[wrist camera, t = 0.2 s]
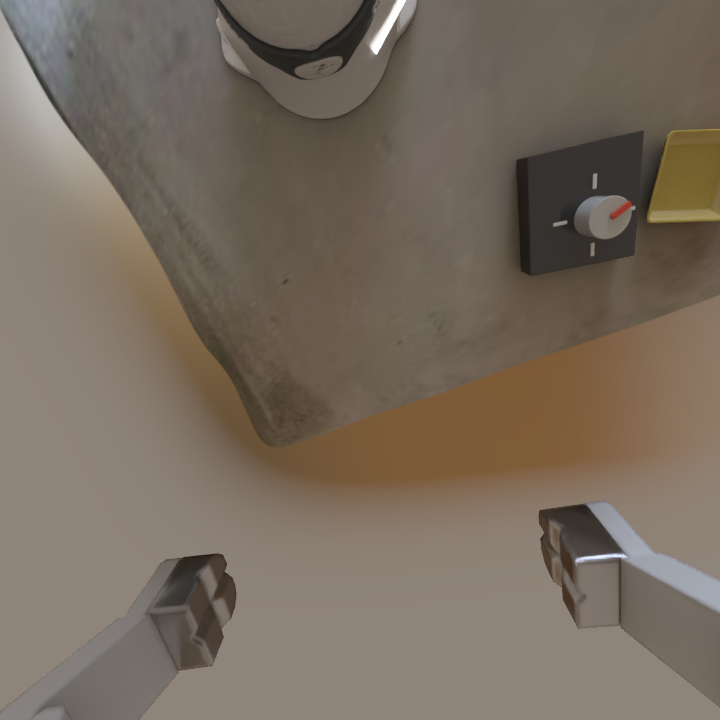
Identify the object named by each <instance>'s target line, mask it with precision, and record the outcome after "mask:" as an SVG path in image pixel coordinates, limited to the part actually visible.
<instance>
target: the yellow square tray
mask: <svg viewBox="0 0 720 720" xmlns="http://www.w3.org/2000/svg"><path fill="white" fill-rule="evenodd" d="M709 221H720V129H702V130H674V131H672V132H670V133H669V134H668V136H667V138H666V140H665V143H664V147H663V151H662V155H661V159H660V163H659V167H658V171H657V175H656V179H655V183H654V186H653V190H652V194H651V198H650V202H649V206H648V210H647V214H646V222H648V223H674V222H709Z"/></svg>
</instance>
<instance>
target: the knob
mask: <svg viewBox="0 0 720 720" xmlns="http://www.w3.org/2000/svg"><path fill="white" fill-rule="evenodd" d="M631 207H632V204H631V202H630V201H627V200H626V199H625V198H624V197H621V196H593V197H590V198H588V199H587V200H585V201H584V202H583V203H582V204H581V205H580V206H579V207H578V209H577V211H576V213H575V216H574V226H575V228H576V230H577V231H578V233H580V234H581V235H583V236H587V237H592V238H598V239H610V238H613V237H615V236H617V235H619V234H620V233H621V232H622V231H623V230H624V229H625V228H626V227H627V225H628V223H629V221H630V219H631V213H632V211H631Z"/></svg>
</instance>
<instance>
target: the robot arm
mask: <svg viewBox="0 0 720 720" xmlns="http://www.w3.org/2000/svg"><path fill="white" fill-rule="evenodd" d="M214 1H215V3H216V6H217V13H218V18H217V20H216V23H217V27H218V29H219V31H220V36H221V43H222V51H223V55H224V58H225V60H226V61H227V63H228V64H229V65H230V66H231V67H232V68H233V69H234V70H236V71H237V72H239V73H241V74H243V75H245V76H247V77H250V78H252V79H254V80H256V81H257V82H258V83H259V84H260V85H261V86H262V87H263V88H264V89H265V90H266V91H267V92H268V93H269V94H270V95H271V96H272V97H273V98H274V99H275V100H276V101H277V102H278V103H279V104H281V105H282V106H283V107H285V108H286V109H288V110H290V111H292V112H294V113H296V114H298V115H301V116H304V117H308V118H314V119H328V118H334V117H337V116H341V115H343V114H346V113H348V112H350V111H351V110H353V109H355V108H356V107H357V106H359V105H360V104H361V103H362V102H364V101H365V100H366V99H367V98H368V96H369V95H370V94H371V93H372V92H373V90H374V89H375V88H376V86H377V85H378V83H379V81H380V80H381V78H382V76H383V74H384V71H385V69H386V66H387V64H388V61H389V58H390V55H391V52H392V49H393V47H394V45H395V43H396V41H397V39H398V38H399V37H400V36H401V35H402V33H403V32H404V31H405V30H406V28H407V27H408V26H409V24H410V23H411V21H412V20H413V18H414V16H415V13H416V0H214ZM539 524H540V526H541V528H542V529H543V531H544V534H543V536H542V537H541V539H540V540H541V549H542V553H543V557H544V561H545V564H546V567H547V569H548V571H549V574H550V576H551V578H552V580H553V581H554V582H555V583H556V584H558V585H559V586H560V587H562V593H563V601H564V602H565V605H566V606H567V608H568V610H569V612H570V614H571V616H572V618H573V620H574V622H575V623H576V625H577V627H578V628H579V629H581V628H595V627H609V626H621V628H622V629H623V630H624V631H625V632H627V633H628V634H629V635H630V636H632V637H633V638H634V639H635V640H637V641H638V642H639V643H640V644H642V645H643V646H644V647H645V648H647V649H648V650H649V651H650V652H651V653H653V654H654V655H655V656H656V657H658V658H659V659H660V660H661V661H663V662H664V663H665V664H666V665H668V666H669V667H670V668H671V669H673V670H674V671H675V672H676V673H678V674H679V675H680V676H681V677H683V678H684V679H685V680H686V681H687V682H689V683H690V684H691V685H692V686H694V687H695V688H696V689H697V690H699V691H700V692H701V693H703V694H704V695H705V696H706V697H707V698H709V699H710V700H711V701H712V702H714V703H715V704H716V705H717V706H719V707H720V580H718V579H715V578H713V577H711V576H709V575H707V574H705V573H703V572H701V571H699V570H697V569H695V568H693V567H691V566H689V565H687V564H685V563H683V562H680V561H679V560H676V559H674V558H672V557H670V556H668V555H666V554H664V553H660V554H656V553H655V552H654V551H653V550H652V549H651V548H650V547H649V546H648V545H647V543H646V542H645V541H644V540H643V539H642V538H641V537H640V536H639V535H638V534H637V532H636V531H635V530H634V529H633V528H632V527H631V526H630V525H629V524H628V523H627V522H626V520H625V519H624V518H623V517H622V516H621V515H620V514H619V513H618V512H617V510H616V509H615V508H614V507H613V506H612V505H611V504H610V503H609V502H607V501H605V500H604V501H597V502H590V503H584V504H580V505H572V506H565V507H558V508H551V509H545V510H540V511H539ZM226 566H227V563H226V561H225V559H224V556H223V555H222V554H209V555H199V556H191V557H183V558H175V559H167V560H165V561H163V562H162V563H160V565H159V566H158V568H157V569H156V571H155V572H154V574H153V575H152V577H151V578H150V580H149V581H148V583H147V584H146V586H145V587H144V588H143V590H142V591H141V593H140V594H139V596H138V597H137V599H136V600H135V602H134V603H133V605H132V606H131V607H130V609H129V610H128V612H127V614H126V615H125V616H124V617H122V618H117V619H116V620H115V621H114V622H112V623H111V624H110V625H109V626H107V627H106V628H105V629H103V630H102V631H101V632H100V633H98V634H97V635H96V636H95V637H93V638H92V639H91V640H89V641H88V642H87V643H86V644H85V645H83V646H82V647H81V648H79V649H78V650H77V651H75V652H74V653H73V654H72V655H70V656H69V657H68V658H67V659H65V660H64V661H63V662H61V663H60V664H59V665H58V666H56V667H55V668H54V669H53V670H51V671H50V672H49V673H47V675H45V676H44V677H42V678H41V679H40V680H39V681H37V682H36V683H35V684H33V685H32V686H31V687H30V688H28V689H27V690H26V691H25V692H23V693H22V694H21V695H20V696H18V697H17V698H16V699H14V700H13V701H12V702H11V703H9V704H8V705H7V706H6V707H4V708H3V709H2V710H1V711H0V720H140V718H141V717H142V716H143V715H144V713H145V712H146V711H147V710H148V709H149V707H150V706H151V705H152V704H153V703H154V702H155V700H156V699H157V698H158V697H159V696H160V694H161V693H162V692H163V691H164V690H165V688H166V687H167V686H168V685H169V684H170V682H171V681H172V680H173V679H174V678H175V677H176V675H177V674H178V670H186V669H194V668H201V667H208V666H212V665H213V663H214V660H215V658H216V655H217V653H218V650H219V648H220V645H221V643H222V640H223V633H222V630H221V628H222V627H223V626H224V625H225V624H226V623H227V622H228V621H229V620H230V619H231V617H232V614H233V611H234V608H235V601H236V588H235V583H234V581H233V578H232V577H231V576H229V575H228V574H227V573H225V572H224V571H225V569H226Z"/></svg>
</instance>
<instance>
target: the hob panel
mask: <svg viewBox="0 0 720 720" xmlns="http://www.w3.org/2000/svg"><path fill="white" fill-rule="evenodd" d="M643 134H644V131H643V130H642V131H638V132H634V133H630V134H625V135H621V136H617V137H612V138H608V139H604V140H599V141H595V142H591V143H587V144H582V145H578V146H574V147H569V148H565V149H561V150H556V151H552V152H548V153H544V154H539V155H535V156H531V157H526V158H523V159H519V160H517V180H518V204H519V229H520V253H521V271H522V272H524V273H526V274H528V275H530V276H533V275H538V274H543V273H548V272H553V271H558V270H563V269H568V268H573V267H578V266H583V265H588V264H593V263H598V262H603V261H608V260H613V259H618V258H623V257H628V256H633V255H634V252H635V239H636V226H637V213H638V200H639V187H640V173H641V160H642V147H643ZM593 196H621V197H624V198H625V199H626V200H627V201H630V202H631V204H632V207H631V211H632V213H631V219H630V221H629V223H628V225H627V227H626V228H625V229H624V230H623V231H622V232H621V233H620V234H619V235H617V236H615V237H613V238H610V239H598V238H592V237H587V236H583V235H581V234H580V233H578V231H577V230H576V228H575V226H574V216H575V213H576V211H577V209H578V207H579V206H580V205H581V204H582V203H583V202H584V201H585V200H587V199H588V198H590V197H593Z"/></svg>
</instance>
